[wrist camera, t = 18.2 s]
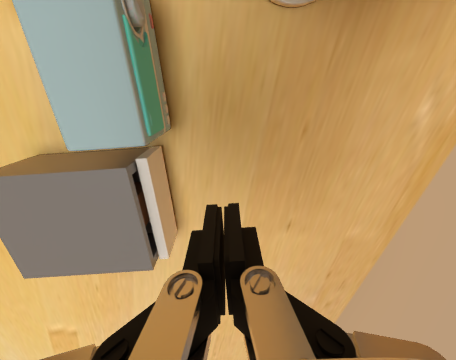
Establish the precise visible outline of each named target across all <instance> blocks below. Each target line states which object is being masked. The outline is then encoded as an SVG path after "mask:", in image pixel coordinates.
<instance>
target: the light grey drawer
mask: <svg viewBox="0 0 456 360" xmlns="http://www.w3.org/2000/svg"><path fill="white" fill-rule="evenodd" d="M135 160H136V164H137V169H138V170H137V171H136V172H135V173H133V174H132V177H133V181H134V182H141V185H142V189H143V193H144V197H145V201H146V205H147V209H148V214H149V218H150V220H149V222H148V223H147V225H146V231H147V233H153V234H154V238H155V242H156V246H157V250H158V255H159V259H168V258H169V257H170V254H171V251H172V248H173V245H174V242H175V238H176V235H177V227H176V222H175V216H174V211H173V206H172V201H171V195H170V190H169V185H168V180H167V174H166V169H165V164H164V158H163V153H162V148H161V146H154V147H151V148H149V149H148V150H147V151H145V152H144V153H143V154H141V155H140V156H139V157H137V158H136V159H135Z"/></svg>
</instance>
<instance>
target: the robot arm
mask: <svg viewBox="0 0 456 360" xmlns="http://www.w3.org/2000/svg"><path fill="white" fill-rule="evenodd" d="M270 1H272V2H274V3H275V4H278V5H281V6H285V7H299V6H304V5H307V4H309V3H312V2H314V1H316V0H270ZM225 279H226V290H227V300H228V310H229V315H233V318H234V325H235V326H236V327H237V328H238V329H239V330H240V331H241V332H242V333H243V335H244V342H245V347H246V352H247V356H248V360H446V359H445V358H444V357H443V356H441V354H439V353H438V352H437V351H435V350H433V349H432V348H430V347H428V346H426V345H423V344H420V343H417V342H411V341H406V340H400V339H395V338H390V337H384V336H379V335H374V334H368V333H363V332H357V331H354V332H353V334H350V333H345V332H344V331H343V330H342V329H341V328H340V327H339V326H337V325H336V324H334V323H333V322H331V321H330V320H328V319H327V318H325V317H324V316H322V315H321V314H319V313H318V312H316V311H315V310H313V309H312V308H310V307H309V306H307V305H306V304H304V303H303V302H301V301H300V300H298V299H297V298H295V297H294V296H292V295H291V294H289V293H287V292H286V291H285V290H284V288H283V286H282V284H281V282H280V279H279V277H278V276H277V274H276V273H275V272H274V271H273V270H271V269H269V268H267V267H264V265H263V260H262V256H261V251H260V246H259V241H258V237H257V232H256V228H255V227H247V228H241V221H240V212H239V203H231V204H228V206H227V207H224V230H223V219H222V208H221V207H218V206H217V204H215V205H207V206H206V212H205V218H204V224H203V230H197V231H192V233H191V237H190V241H189V245H188V250H187V254H186V258H185V262H184V267H183V270H182V271H179V272H176V273H175V274H173V275H172V276H170V277H169V278H168V279H167V281H166V282H165V284H164V286H163V288H162V290H161V292H160V294H159V296H158V298H157V300H156V302H154V303H153V304H152V305H150V306H149V307H148V308H147V309H145V310H144V311H143V312H141V313H140V314H139V315H137V316H136V317H135V318H133V319H132V320H131V321H130V322H128V323H127V324H126V325H124V326H123V327H122V328H120V329H119V330H118V331H116V332H115V333H114V334H112V335H111V336H110V337H109V338H107V339H106V340H105V341H104V342H103V343H102V344H101V345H100V346H97V347H96V346H95V344H92V345H89V346H85V347H82V348H78V349H75V350H72V351H68V352H65V353H61V354H58V355H54V356H51V357H47V358H44V359H41V360H207V356H208V351H209V346H210V341H211V333H212V332H213V331H214V330H215V329H216V328H217V326H218V324H220V315H225Z"/></svg>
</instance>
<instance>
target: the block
mask: <svg viewBox="0 0 456 360" xmlns="http://www.w3.org/2000/svg"><path fill="white" fill-rule="evenodd" d="M134 184H135V188H136V192H137V196H138V200H139V204H140V208H141V212H142V215H143V219H144V223H145V227H146V225H147V223H148V222H149V220H150V218H149V214H148V209H147V205H146V201H145V197H144V193H143V189H142V185H141V182H134Z"/></svg>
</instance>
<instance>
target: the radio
mask: <svg viewBox="0 0 456 360" xmlns="http://www.w3.org/2000/svg"><path fill="white" fill-rule="evenodd" d="M12 2H13V4H14V7H15V10H16V12H17V15H18V18H19V21H20V23H21V26H22V29H23V31H24V34H25V37H26V40H27V42H28V45H29V48H30V50H31V53H32V56H33V58H34V61H35V64H36V67H37V69H38V72H39V75H40V77H41V80H42V83H43V86H44V88H45V91H46V94H47V96H48V99H49V102H50V104H51V107H52V110H53V113H54V115H55V118H56V121H57V123H58V126H59V129H60V132H61V134H62V137H63V140H64V142H65V145H66V147H67V149H68V150H69V151H84V150H98V149H112V148H125V147H139V146H146V145H147V144H149V143H150V142H152V141H153V140H155V139H156V138H158V137H159V136H161V135H162V134H164V133H165V132H167V131H168V130H170V128H171V127H170V118H169V114H168V106H167V102H166V94H165V90H164V84H163V78H162V72H161V66H160V60H159V54H158V48H157V43H156V37H155V31H154V25H153V19H152V13H151V7H150V2H149V0H12Z"/></svg>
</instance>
